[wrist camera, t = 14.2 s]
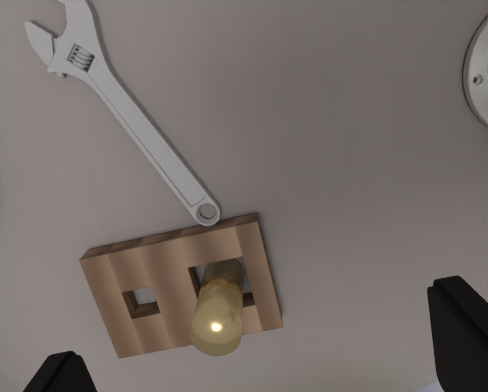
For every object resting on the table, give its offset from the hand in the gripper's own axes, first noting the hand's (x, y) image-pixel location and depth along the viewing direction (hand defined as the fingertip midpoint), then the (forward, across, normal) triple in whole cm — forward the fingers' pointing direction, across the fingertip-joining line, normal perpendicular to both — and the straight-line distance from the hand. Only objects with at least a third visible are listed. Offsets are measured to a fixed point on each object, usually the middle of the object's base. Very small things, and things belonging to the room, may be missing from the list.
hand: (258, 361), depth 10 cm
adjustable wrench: (+29, +11, -6) cm, 31 cm away
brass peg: (+28, +6, +12) cm, 31 cm away
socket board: (+28, +10, +12) cm, 32 cm away
